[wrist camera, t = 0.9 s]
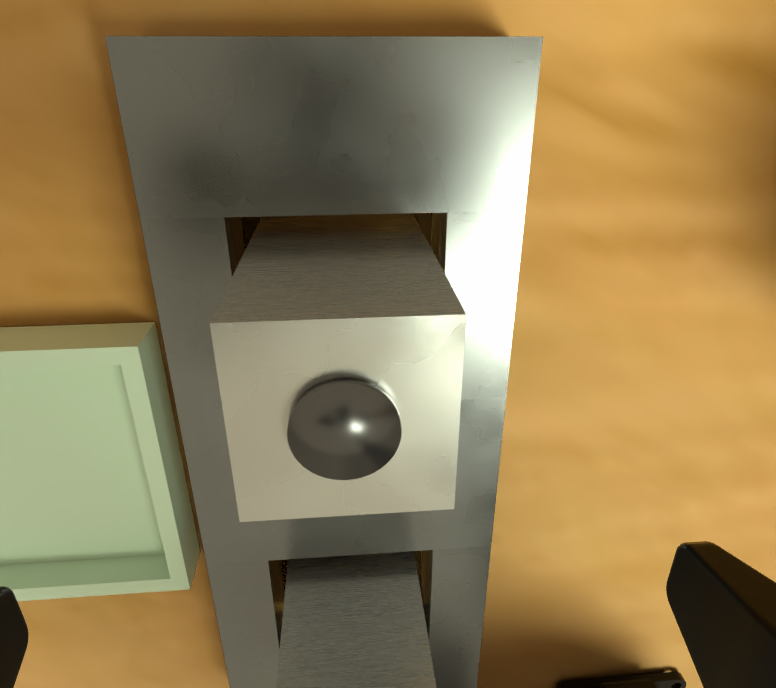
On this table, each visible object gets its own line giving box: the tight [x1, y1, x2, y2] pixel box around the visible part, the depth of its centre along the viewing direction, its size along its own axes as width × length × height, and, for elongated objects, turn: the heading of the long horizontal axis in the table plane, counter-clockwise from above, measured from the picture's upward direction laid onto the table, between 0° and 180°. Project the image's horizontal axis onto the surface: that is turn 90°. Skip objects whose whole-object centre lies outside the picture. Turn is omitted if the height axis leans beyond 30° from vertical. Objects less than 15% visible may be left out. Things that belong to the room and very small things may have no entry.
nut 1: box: [210, 214, 466, 522], centre depth 15 cm, size 5×5×8 cm
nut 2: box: [276, 551, 436, 688], centre depth 20 cm, size 5×5×8 cm
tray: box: [0, 322, 200, 601], centre depth 19 cm, size 10×10×2 cm
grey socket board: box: [105, 36, 543, 688], centre depth 20 cm, size 26×10×2 cm, turn 0°
